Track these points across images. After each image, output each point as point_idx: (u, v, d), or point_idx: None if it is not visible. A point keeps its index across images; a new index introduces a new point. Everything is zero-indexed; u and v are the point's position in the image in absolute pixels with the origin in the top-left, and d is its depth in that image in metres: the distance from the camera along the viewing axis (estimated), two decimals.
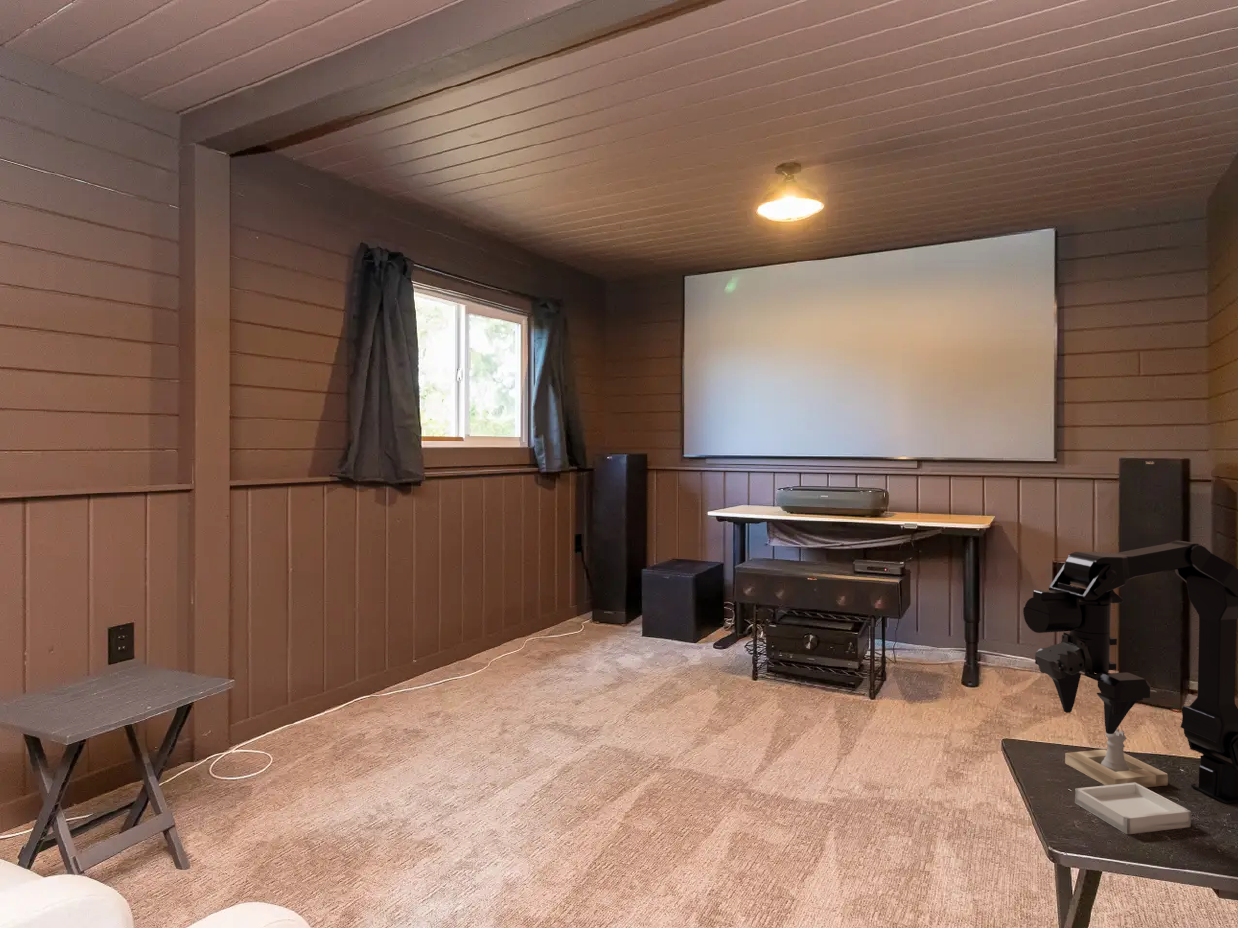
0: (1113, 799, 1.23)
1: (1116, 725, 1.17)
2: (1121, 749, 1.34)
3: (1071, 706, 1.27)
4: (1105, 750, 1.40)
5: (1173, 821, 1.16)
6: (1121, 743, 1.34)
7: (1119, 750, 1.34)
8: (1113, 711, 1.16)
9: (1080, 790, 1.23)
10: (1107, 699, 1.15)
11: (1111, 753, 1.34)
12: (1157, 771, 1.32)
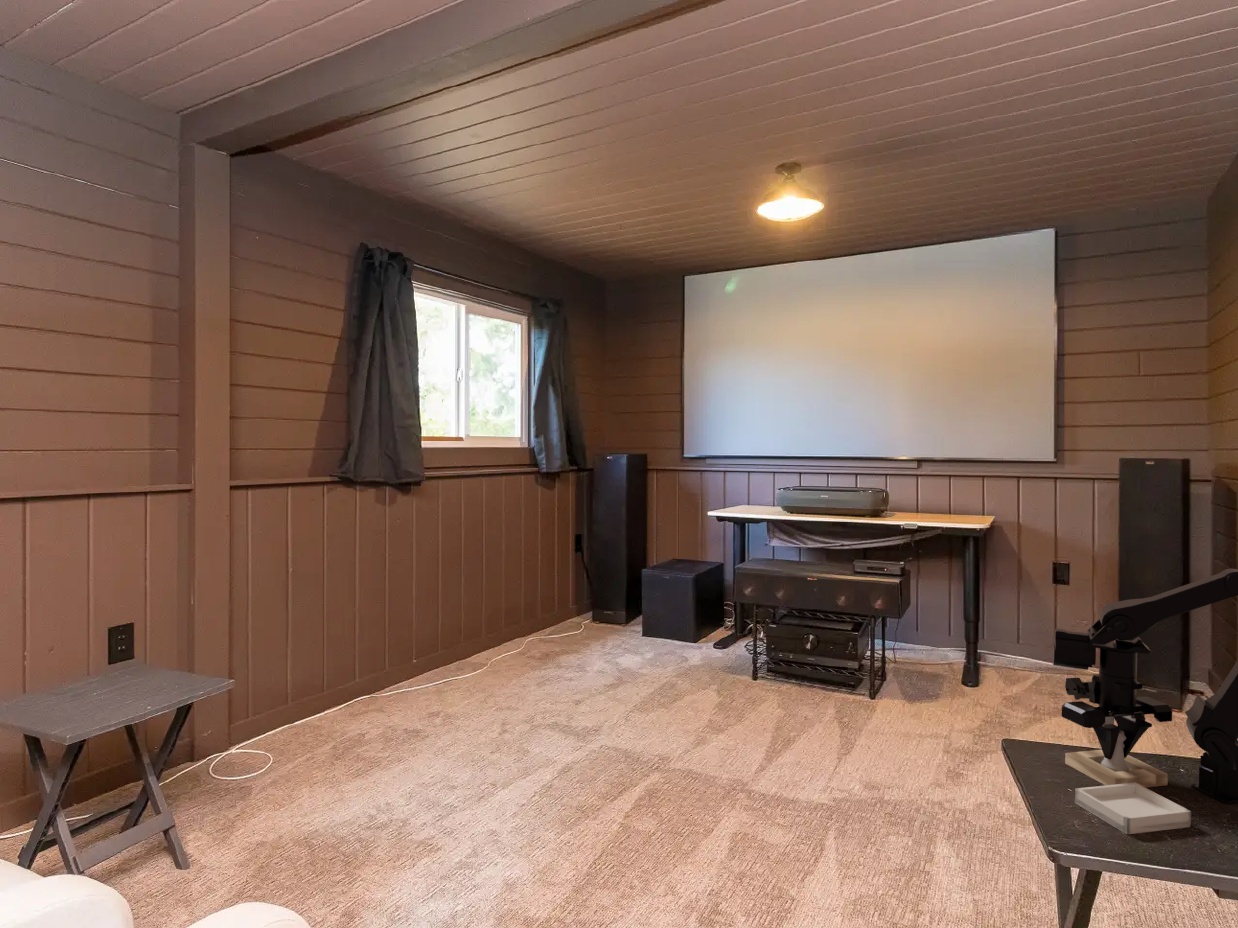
0: (1113, 799, 1.23)
1: (1107, 751, 1.34)
2: (1121, 749, 1.34)
3: (1124, 752, 1.35)
4: None
5: (1173, 821, 1.16)
6: (1121, 743, 1.34)
7: (1119, 750, 1.34)
8: (1099, 735, 1.35)
9: (1080, 790, 1.23)
10: None
11: None
12: (1157, 771, 1.32)
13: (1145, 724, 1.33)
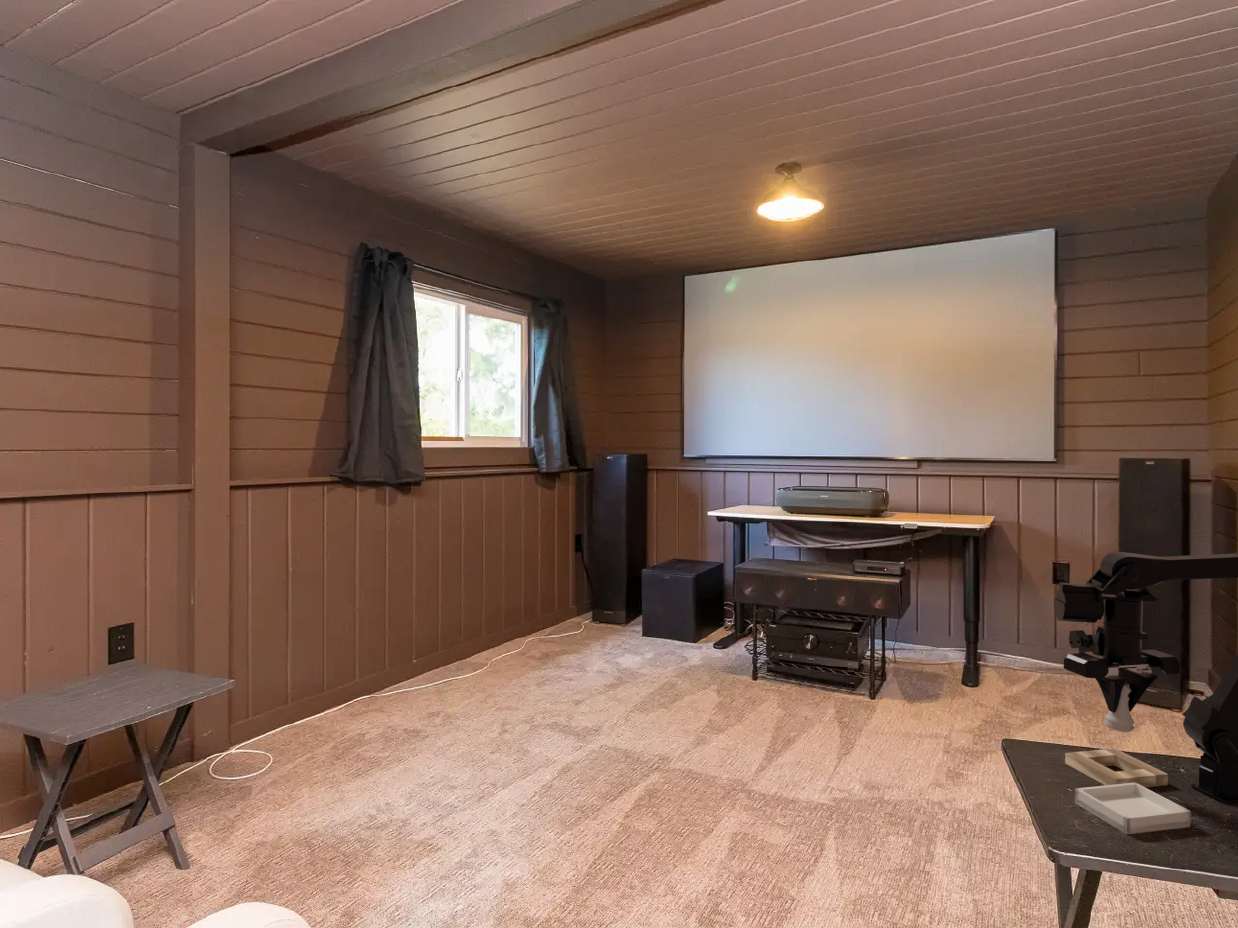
0: (1113, 799, 1.23)
1: (1111, 704, 1.30)
2: (1126, 702, 1.30)
3: (1129, 705, 1.31)
4: (1105, 750, 1.40)
5: (1173, 821, 1.16)
6: (1126, 695, 1.30)
7: (1124, 703, 1.30)
8: (1103, 688, 1.31)
9: (1080, 790, 1.23)
10: None
11: None
12: (1157, 771, 1.32)
13: (1151, 676, 1.29)
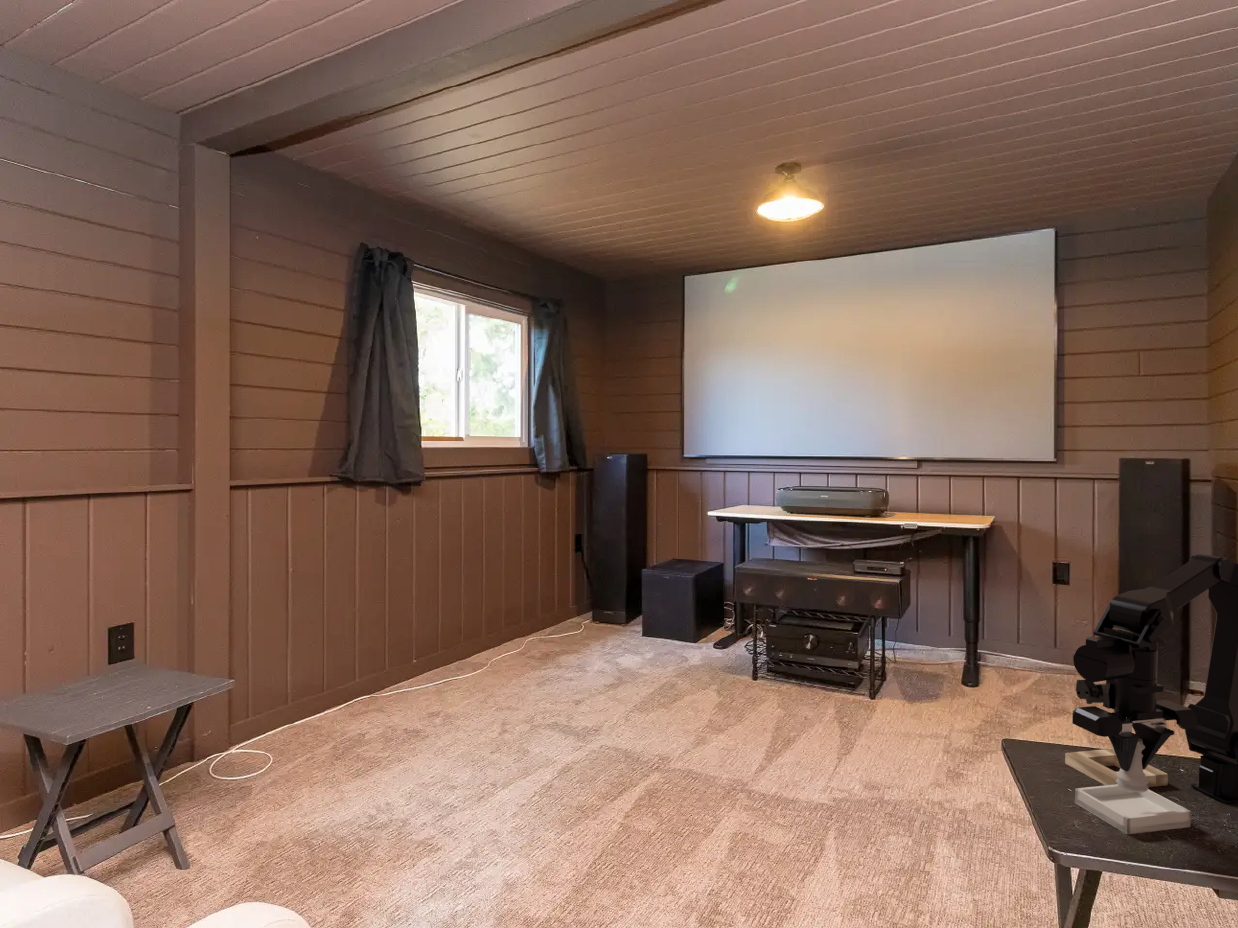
0: (1113, 799, 1.23)
1: (1124, 762, 1.19)
2: (1139, 759, 1.19)
3: (1142, 763, 1.20)
4: (1105, 750, 1.40)
5: (1173, 821, 1.16)
6: (1139, 752, 1.19)
7: (1137, 760, 1.19)
8: (1115, 744, 1.20)
9: (1080, 790, 1.23)
10: None
11: None
12: (1157, 771, 1.32)
13: (1167, 732, 1.18)
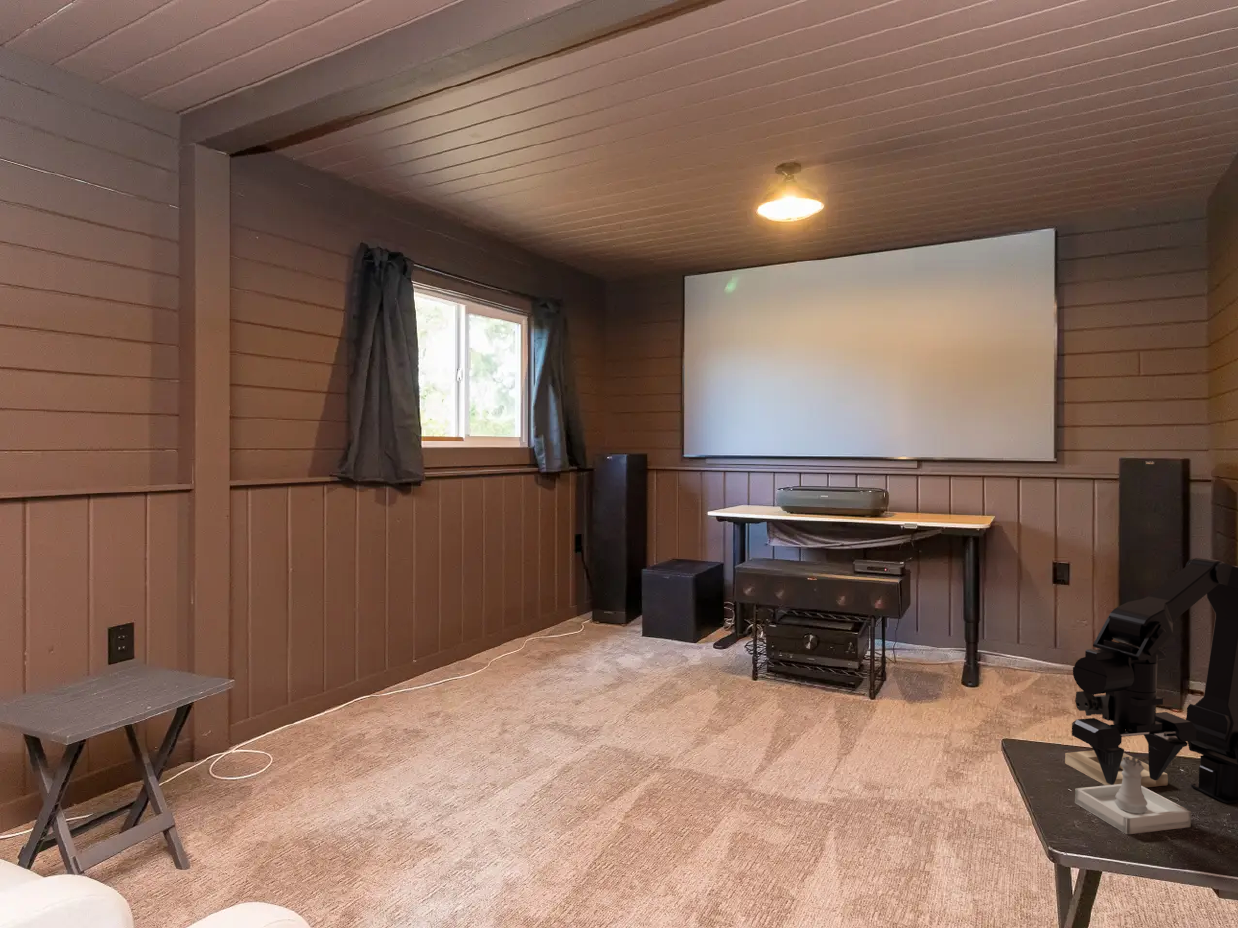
0: (1113, 799, 1.23)
1: (1109, 776, 1.19)
2: (1138, 780, 1.19)
3: (1155, 774, 1.20)
4: None
5: (1173, 821, 1.16)
6: (1138, 774, 1.19)
7: (1136, 782, 1.19)
8: (1101, 758, 1.19)
9: (1080, 790, 1.23)
10: None
11: (1127, 785, 1.20)
12: None
13: (1180, 743, 1.18)
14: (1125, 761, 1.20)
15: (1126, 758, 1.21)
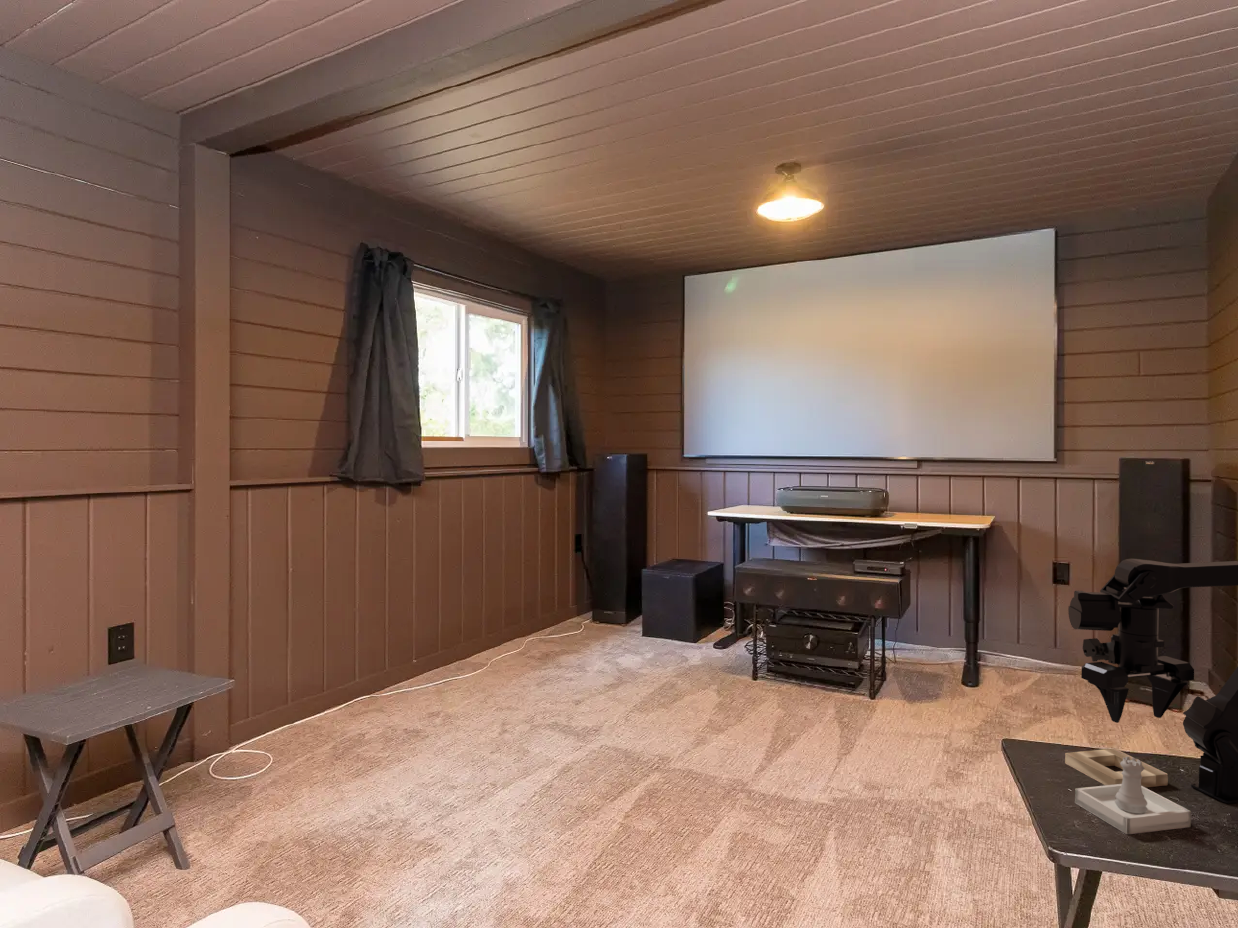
0: (1113, 799, 1.23)
1: (1115, 714, 1.28)
2: (1138, 781, 1.19)
3: (1159, 712, 1.30)
4: (1105, 750, 1.40)
5: (1173, 821, 1.16)
6: (1138, 774, 1.19)
7: (1136, 782, 1.19)
8: (1106, 698, 1.29)
9: (1080, 790, 1.23)
10: None
11: (1127, 785, 1.20)
12: (1157, 771, 1.32)
13: (1181, 682, 1.29)
14: (1125, 761, 1.20)
15: (1126, 758, 1.21)
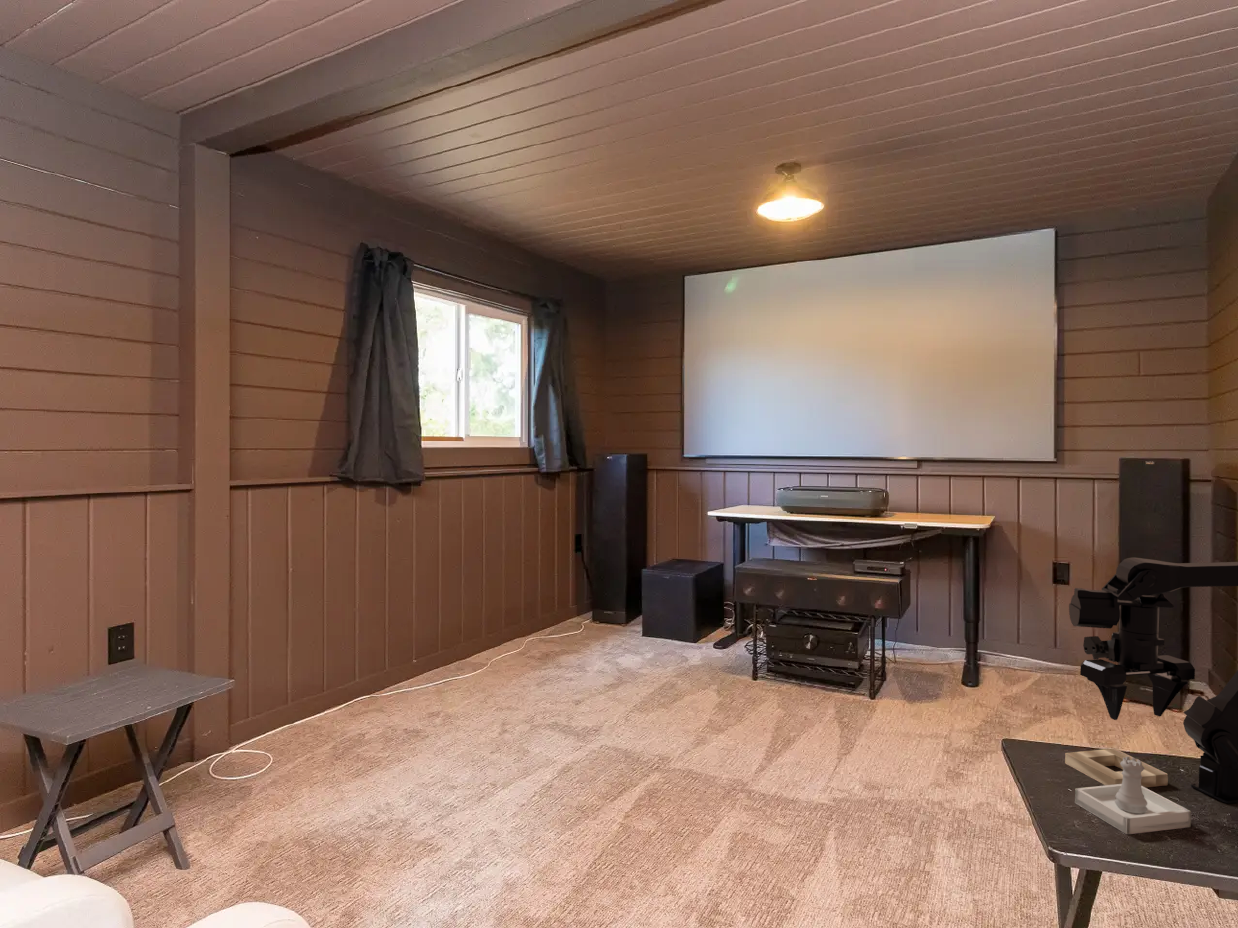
0: (1113, 799, 1.23)
1: (1113, 712, 1.29)
2: (1138, 781, 1.19)
3: (1159, 710, 1.31)
4: (1105, 750, 1.40)
5: (1173, 821, 1.16)
6: (1138, 774, 1.19)
7: (1136, 782, 1.19)
8: (1105, 695, 1.30)
9: (1080, 790, 1.23)
10: None
11: (1127, 785, 1.20)
12: (1157, 771, 1.32)
13: (1181, 681, 1.29)
14: (1125, 761, 1.20)
15: (1126, 758, 1.21)
